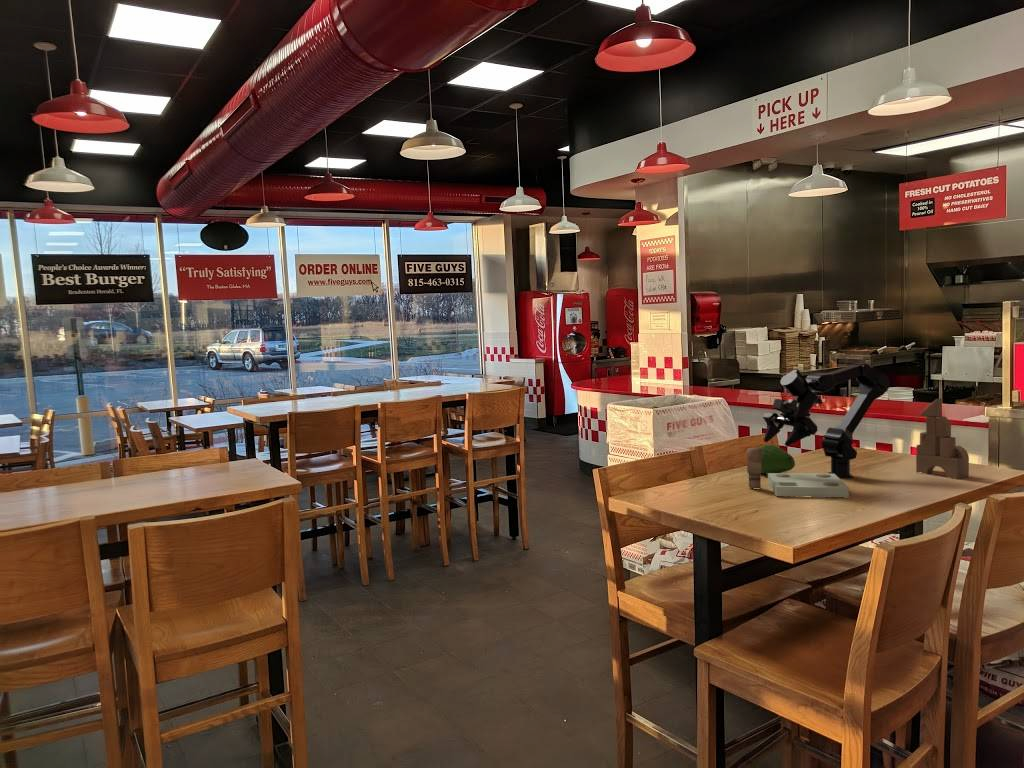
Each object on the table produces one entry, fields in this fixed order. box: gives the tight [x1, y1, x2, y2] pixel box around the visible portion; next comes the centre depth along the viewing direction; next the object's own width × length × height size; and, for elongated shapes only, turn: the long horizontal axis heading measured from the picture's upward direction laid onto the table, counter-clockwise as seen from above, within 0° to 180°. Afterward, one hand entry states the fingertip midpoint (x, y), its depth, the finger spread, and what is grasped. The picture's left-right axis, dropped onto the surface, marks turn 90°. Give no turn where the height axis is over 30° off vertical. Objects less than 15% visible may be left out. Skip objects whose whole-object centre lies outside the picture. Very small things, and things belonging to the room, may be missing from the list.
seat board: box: [767, 472, 850, 499], centre depth 222 cm, size 20×20×3 cm
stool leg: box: [746, 447, 763, 488], centre depth 226 cm, size 4×4×12 cm
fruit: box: [758, 444, 796, 474], centre depth 246 cm, size 15×10×10 cm, turn 35°
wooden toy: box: [915, 398, 970, 480], centre depth 235 cm, size 15×7×25 cm, turn 27°
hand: (775, 443), depth 228 cm, fingers open, 9 cm apart
